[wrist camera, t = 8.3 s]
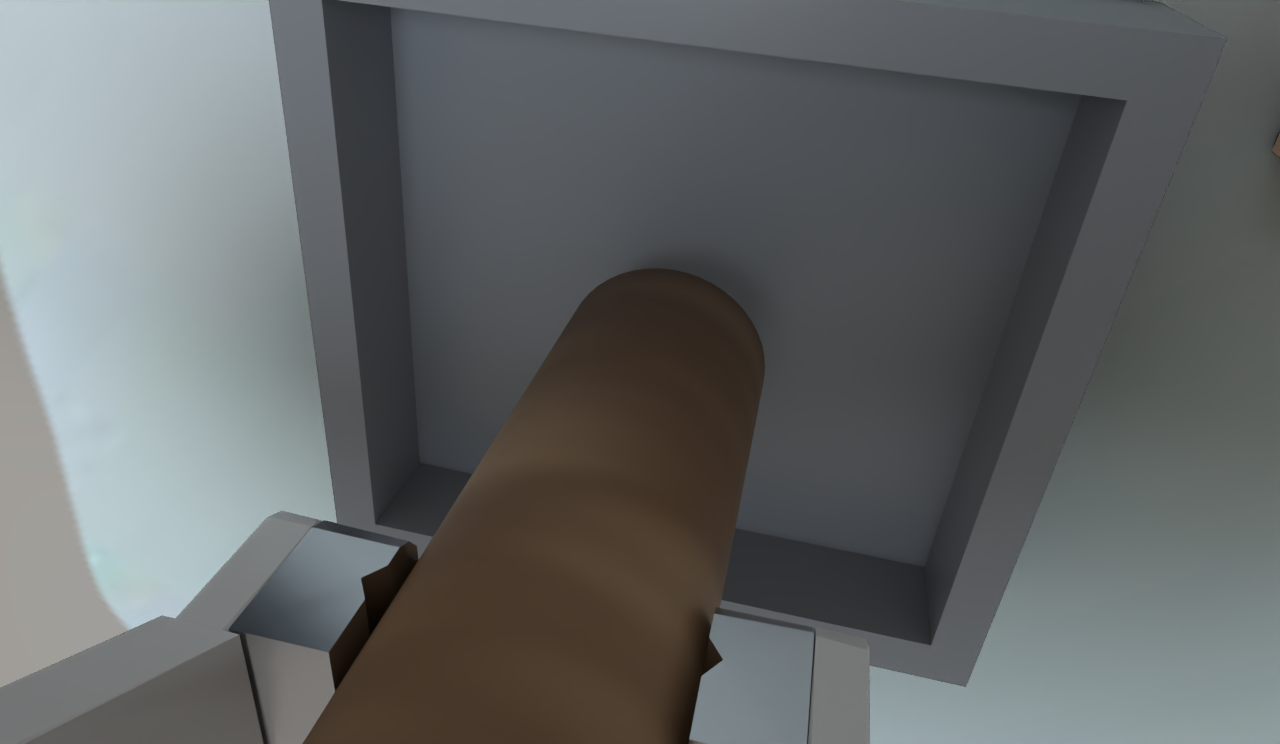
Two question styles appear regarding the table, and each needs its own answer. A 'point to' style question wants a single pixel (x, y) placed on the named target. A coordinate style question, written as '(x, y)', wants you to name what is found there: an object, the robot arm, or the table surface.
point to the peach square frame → (1277, 146)
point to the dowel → (579, 541)
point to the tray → (745, 254)
